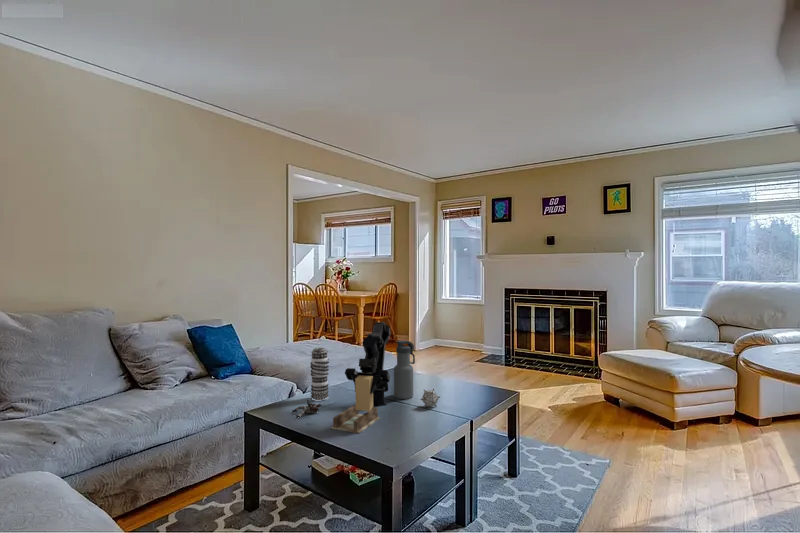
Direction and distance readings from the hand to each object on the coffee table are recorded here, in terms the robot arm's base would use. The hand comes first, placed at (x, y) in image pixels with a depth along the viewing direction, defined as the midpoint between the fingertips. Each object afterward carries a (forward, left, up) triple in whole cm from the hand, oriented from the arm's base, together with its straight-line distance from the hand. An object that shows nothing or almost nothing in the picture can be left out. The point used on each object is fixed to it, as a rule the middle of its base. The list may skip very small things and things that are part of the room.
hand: (363, 393), depth 178 cm
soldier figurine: (-20, -22, -14) cm, 33 cm away
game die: (-14, +35, -14) cm, 40 cm away
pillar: (-1, +1, -7) cm, 7 cm away
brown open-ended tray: (-3, -2, -13) cm, 14 cm away
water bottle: (-33, +28, -13) cm, 45 cm away
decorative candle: (-42, -13, -13) cm, 46 cm away
